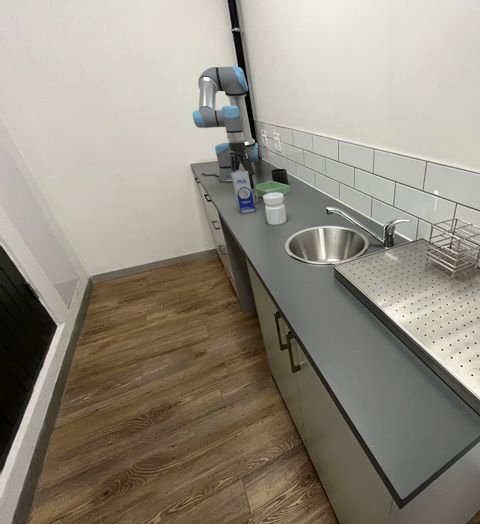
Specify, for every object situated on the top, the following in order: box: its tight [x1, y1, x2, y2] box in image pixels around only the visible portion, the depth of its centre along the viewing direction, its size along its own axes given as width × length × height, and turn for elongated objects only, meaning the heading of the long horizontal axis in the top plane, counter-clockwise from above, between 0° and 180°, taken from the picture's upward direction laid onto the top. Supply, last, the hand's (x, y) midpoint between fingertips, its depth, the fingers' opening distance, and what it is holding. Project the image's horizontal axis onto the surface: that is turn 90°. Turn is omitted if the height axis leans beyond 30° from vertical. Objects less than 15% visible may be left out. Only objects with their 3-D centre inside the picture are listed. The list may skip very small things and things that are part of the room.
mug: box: [270, 168, 289, 185], centre depth 186 cm, size 9×12×9 cm
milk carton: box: [231, 169, 256, 215], centre depth 141 cm, size 7×7×20 cm
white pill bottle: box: [262, 193, 287, 226], centre depth 131 cm, size 9×9×12 cm
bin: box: [256, 180, 291, 199], centre depth 170 cm, size 18×16×4 cm
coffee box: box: [234, 170, 259, 205], centre depth 154 cm, size 9×6×16 cm
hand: (245, 186), depth 154 cm, fingers closed on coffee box, 10 cm apart
